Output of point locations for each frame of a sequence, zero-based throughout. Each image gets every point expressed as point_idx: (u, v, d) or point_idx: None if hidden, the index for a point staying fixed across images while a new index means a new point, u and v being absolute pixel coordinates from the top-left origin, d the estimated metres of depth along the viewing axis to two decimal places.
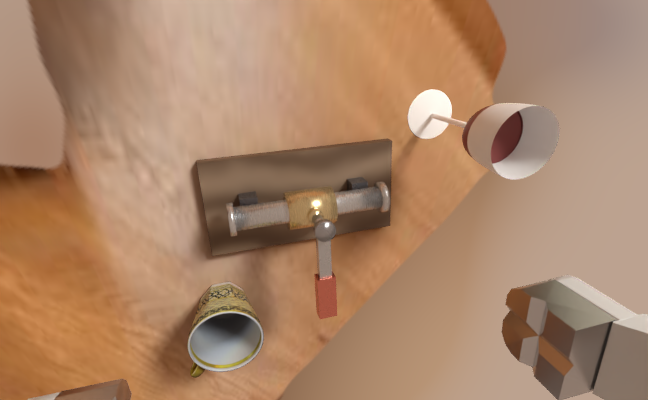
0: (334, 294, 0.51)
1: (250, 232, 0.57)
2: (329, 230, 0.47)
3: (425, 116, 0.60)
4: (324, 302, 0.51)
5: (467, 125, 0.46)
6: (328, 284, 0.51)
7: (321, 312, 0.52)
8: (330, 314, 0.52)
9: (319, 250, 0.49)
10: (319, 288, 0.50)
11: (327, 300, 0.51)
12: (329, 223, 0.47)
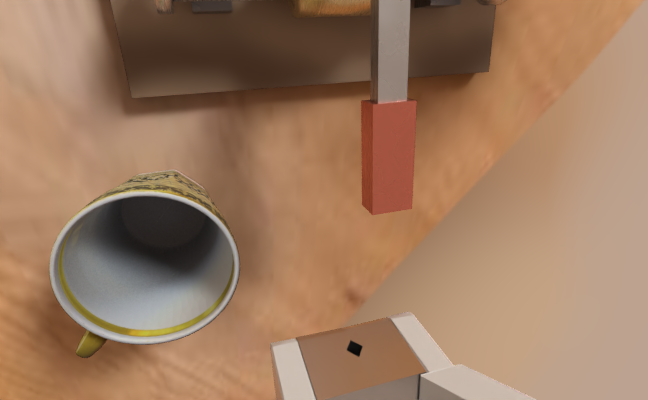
0: (410, 151, 0.21)
1: (214, 50, 0.27)
2: None
3: None
4: (385, 170, 0.21)
5: None
6: (398, 119, 0.20)
7: (377, 197, 0.21)
8: (398, 205, 0.22)
9: (381, 12, 0.18)
10: (376, 129, 0.20)
11: (392, 166, 0.21)
12: None
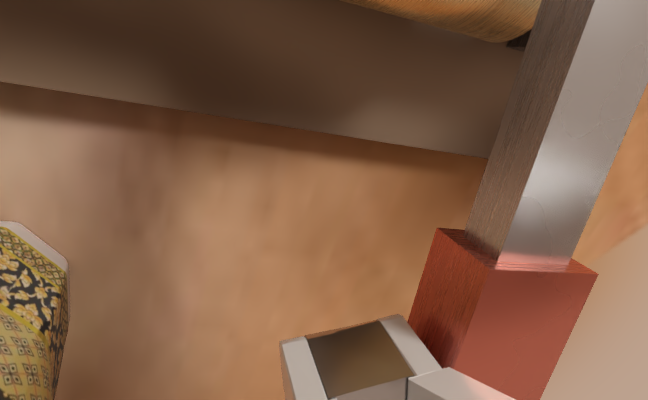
0: (533, 390, 0.08)
1: (132, 19, 0.13)
2: None
3: None
4: None
5: None
6: (538, 314, 0.07)
7: None
8: None
9: None
10: (474, 335, 0.07)
11: None
12: None
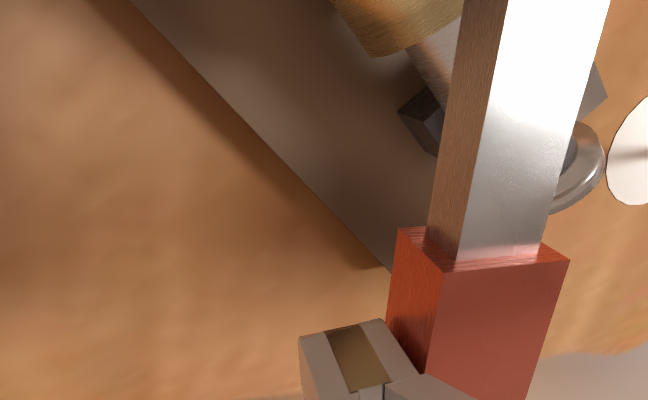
0: (519, 383, 0.07)
1: None
2: None
3: None
4: None
5: None
6: (509, 309, 0.07)
7: None
8: None
9: None
10: (441, 337, 0.06)
11: None
12: None
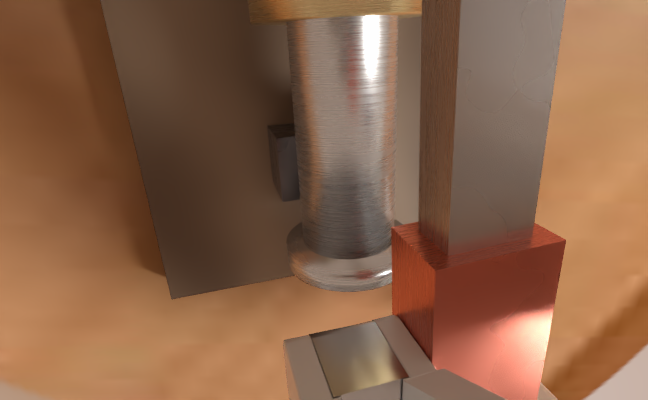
0: (532, 365, 0.07)
1: None
2: None
3: None
4: None
5: None
6: (509, 296, 0.07)
7: None
8: None
9: None
10: (443, 333, 0.06)
11: None
12: None
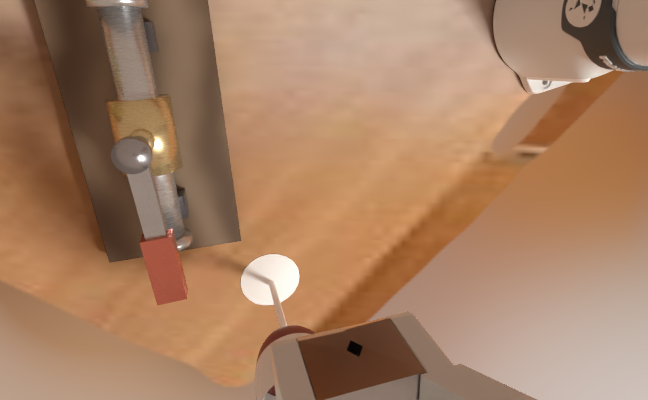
0: (175, 266, 0.32)
1: (80, 38, 0.35)
2: (137, 154, 0.28)
3: (269, 275, 0.49)
4: (159, 278, 0.32)
5: (303, 328, 0.37)
6: (160, 248, 0.32)
7: (158, 294, 0.33)
8: (175, 297, 0.33)
9: (133, 191, 0.30)
10: (145, 256, 0.31)
11: (164, 275, 0.32)
12: (135, 141, 0.28)
